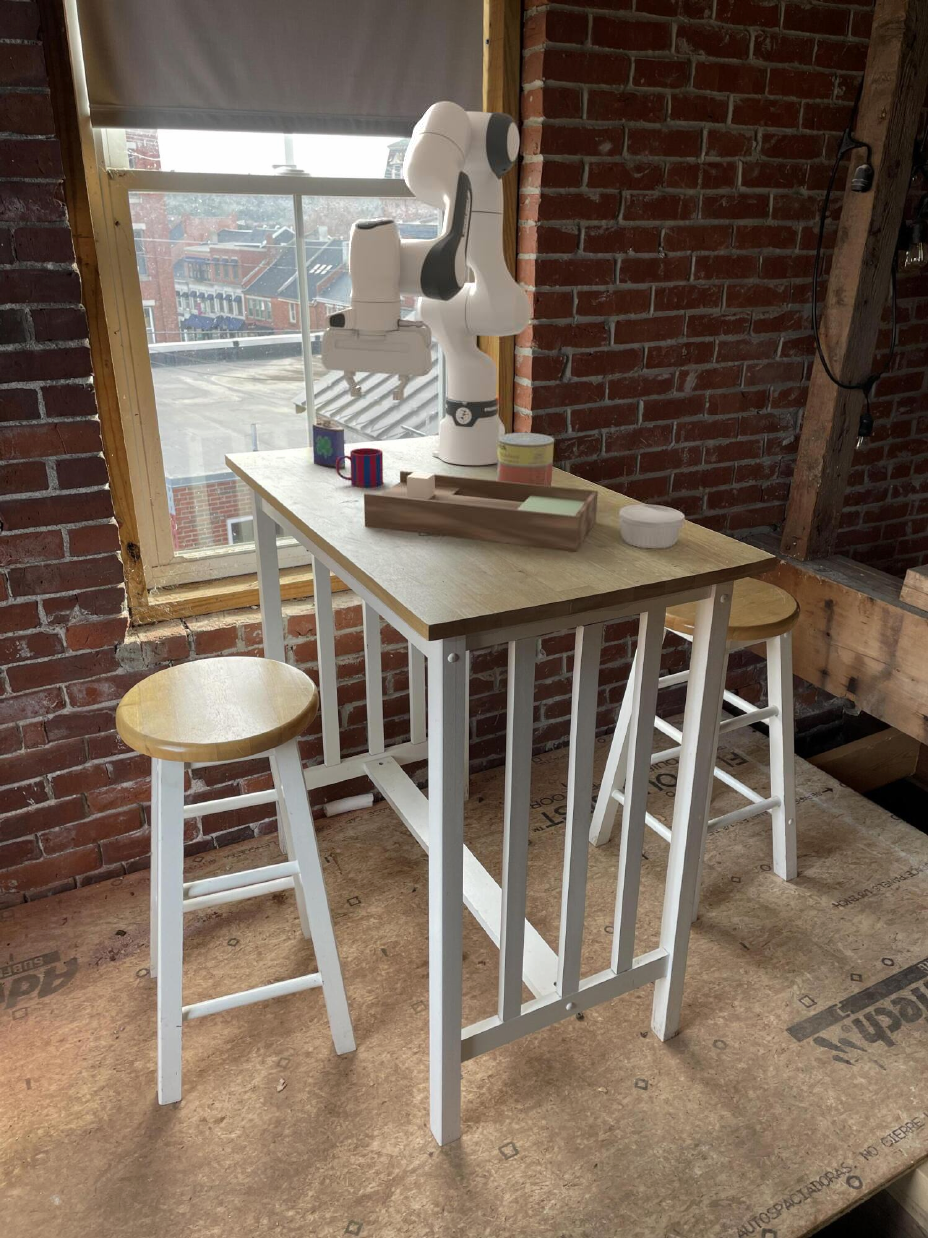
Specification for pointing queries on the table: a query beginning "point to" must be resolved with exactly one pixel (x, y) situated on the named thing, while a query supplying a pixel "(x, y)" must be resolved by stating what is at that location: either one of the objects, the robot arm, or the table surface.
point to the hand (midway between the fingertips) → (377, 398)
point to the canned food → (525, 458)
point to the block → (420, 485)
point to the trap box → (488, 511)
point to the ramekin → (650, 525)
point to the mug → (364, 467)
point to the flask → (328, 444)
